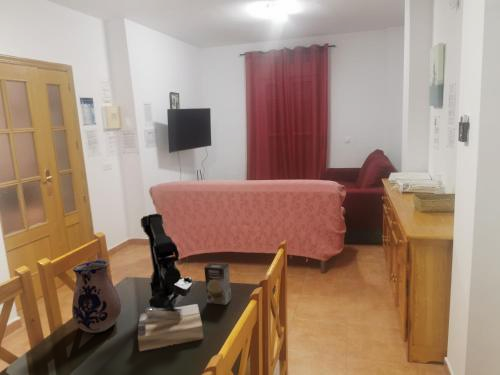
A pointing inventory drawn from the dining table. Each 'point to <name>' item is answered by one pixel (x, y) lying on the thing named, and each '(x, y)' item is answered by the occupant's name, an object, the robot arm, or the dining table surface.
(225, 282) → the coffee box
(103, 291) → the ceramic pitcher
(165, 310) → the bar
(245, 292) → the dining table surface
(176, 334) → the stepped wooden block
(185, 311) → the jamb
